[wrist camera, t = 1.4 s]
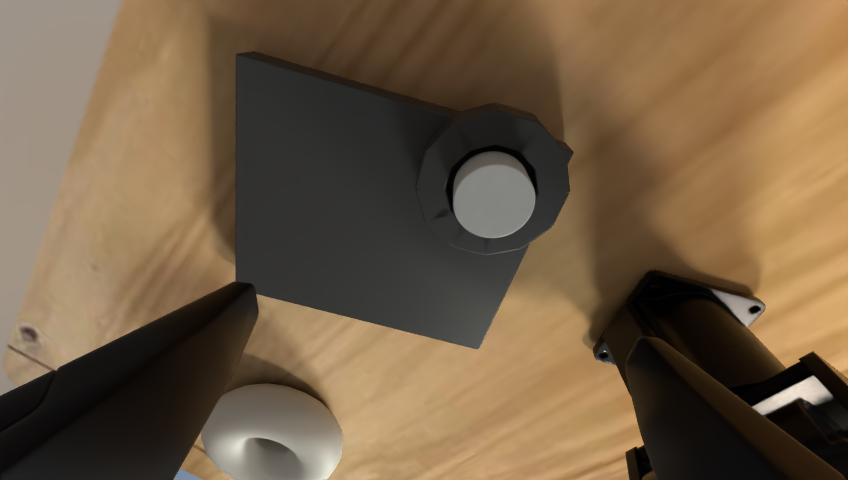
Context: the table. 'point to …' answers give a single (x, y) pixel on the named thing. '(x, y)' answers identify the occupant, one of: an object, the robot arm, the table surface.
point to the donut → (272, 435)
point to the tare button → (493, 195)
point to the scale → (377, 199)
